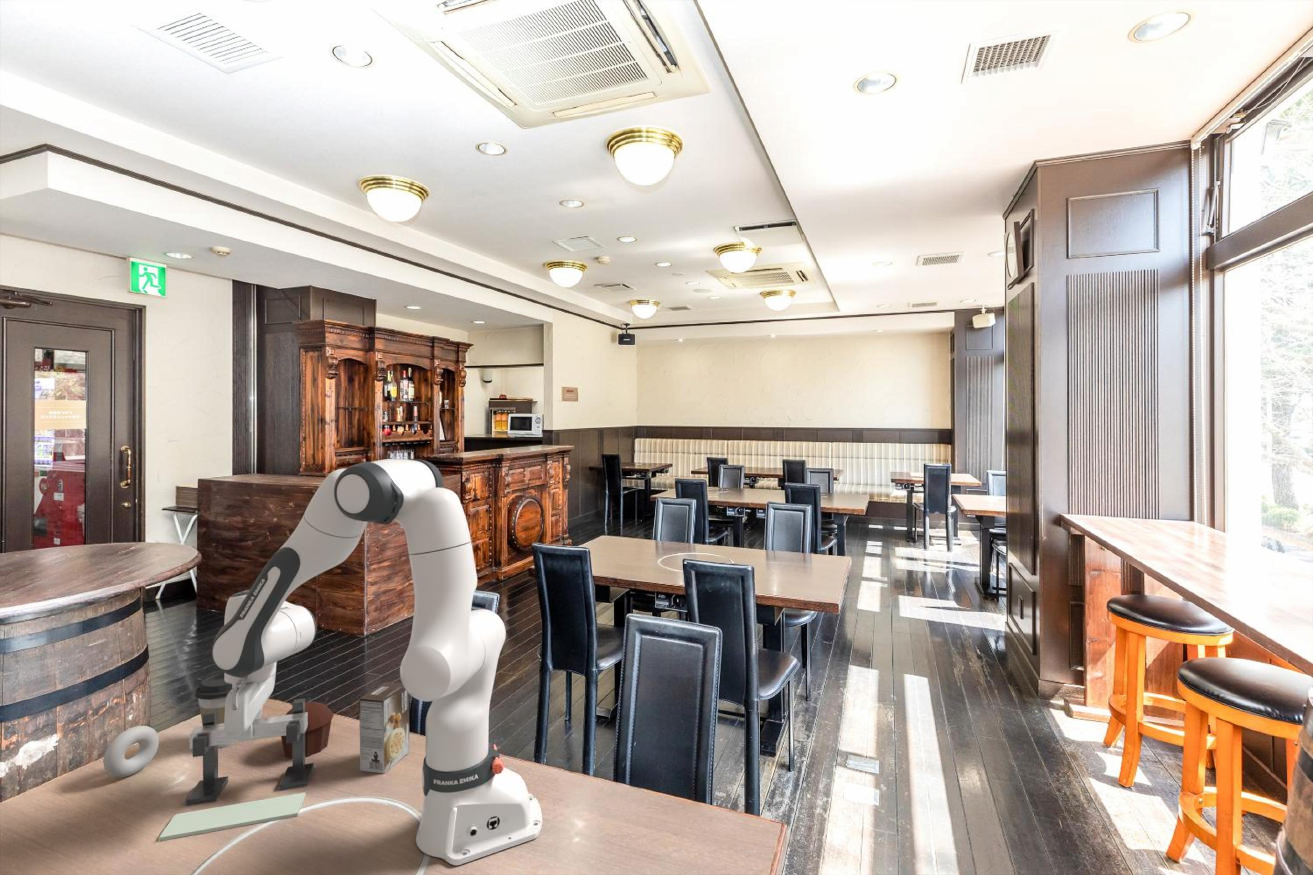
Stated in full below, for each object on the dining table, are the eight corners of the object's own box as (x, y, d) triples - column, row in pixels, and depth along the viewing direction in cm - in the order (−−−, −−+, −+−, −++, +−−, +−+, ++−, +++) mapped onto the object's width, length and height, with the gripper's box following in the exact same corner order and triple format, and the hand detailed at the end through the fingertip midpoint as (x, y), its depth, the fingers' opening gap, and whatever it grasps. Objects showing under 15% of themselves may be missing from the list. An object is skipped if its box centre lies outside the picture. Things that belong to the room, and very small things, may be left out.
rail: (307, 725, 129) (307, 712, 129) (304, 732, 126) (304, 718, 126) (195, 741, 122) (195, 726, 122) (189, 748, 119) (189, 733, 119)
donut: (109, 788, 125) (109, 740, 124) (99, 785, 126) (98, 737, 126) (163, 763, 134) (162, 718, 134) (152, 760, 135) (152, 716, 135)
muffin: (325, 758, 136) (325, 714, 136) (270, 765, 133) (269, 720, 133) (338, 732, 148) (338, 692, 148) (287, 738, 145) (287, 697, 145)
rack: (313, 768, 132) (313, 695, 132) (305, 788, 125) (305, 711, 124) (199, 786, 125) (199, 709, 125) (183, 809, 118) (183, 727, 118)
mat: (305, 794, 122) (305, 792, 122) (297, 815, 116) (297, 812, 116) (175, 817, 115) (175, 814, 115) (158, 840, 109) (158, 837, 109)
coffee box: (385, 749, 140) (385, 680, 140) (410, 752, 139) (410, 682, 139) (358, 770, 131) (358, 697, 131) (384, 774, 130) (384, 700, 130)
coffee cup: (250, 724, 152) (250, 664, 152) (256, 742, 143) (256, 679, 143) (194, 738, 145) (193, 676, 144) (196, 758, 136) (195, 692, 136)
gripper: (253, 685, 115) (253, 757, 115) (281, 648, 134) (281, 710, 135) (213, 689, 113) (214, 763, 113) (248, 651, 132) (248, 714, 132)
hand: (251, 734), depth 124 cm, fingers closed on rail, 3 cm apart
